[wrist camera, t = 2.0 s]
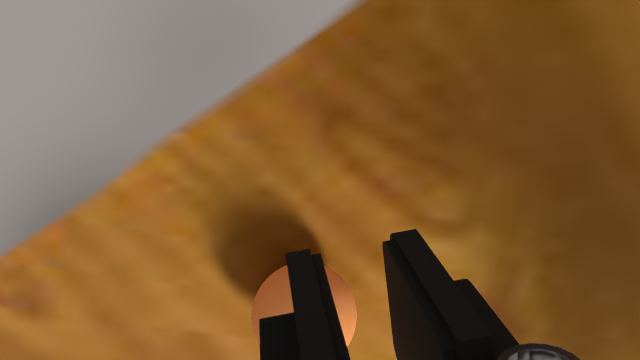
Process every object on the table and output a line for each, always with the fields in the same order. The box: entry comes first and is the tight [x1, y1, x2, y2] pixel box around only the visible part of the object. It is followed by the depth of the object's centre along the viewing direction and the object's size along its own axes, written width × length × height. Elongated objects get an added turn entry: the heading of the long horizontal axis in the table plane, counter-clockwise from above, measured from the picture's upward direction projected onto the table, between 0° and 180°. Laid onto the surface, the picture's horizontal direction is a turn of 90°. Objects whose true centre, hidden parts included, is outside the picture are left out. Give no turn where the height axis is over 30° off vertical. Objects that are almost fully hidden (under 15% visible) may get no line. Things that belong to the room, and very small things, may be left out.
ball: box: [252, 265, 357, 346], centre depth 28 cm, size 6×6×6 cm
